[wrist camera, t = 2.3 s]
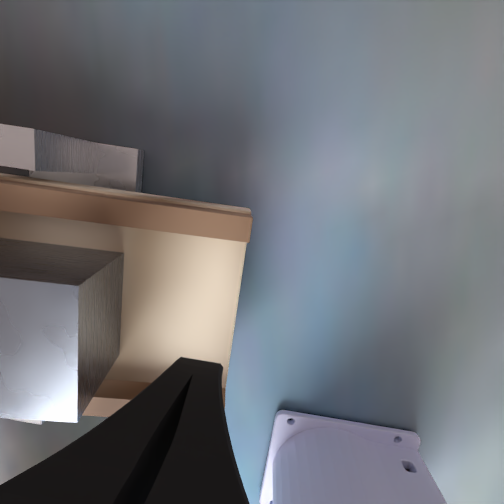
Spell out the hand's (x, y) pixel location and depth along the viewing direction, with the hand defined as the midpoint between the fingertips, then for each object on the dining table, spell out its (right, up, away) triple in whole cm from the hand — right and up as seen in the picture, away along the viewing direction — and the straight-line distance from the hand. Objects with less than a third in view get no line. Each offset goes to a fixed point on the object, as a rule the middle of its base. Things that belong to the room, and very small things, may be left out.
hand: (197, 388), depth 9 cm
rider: (-7, +2, +4) cm, 8 cm away
